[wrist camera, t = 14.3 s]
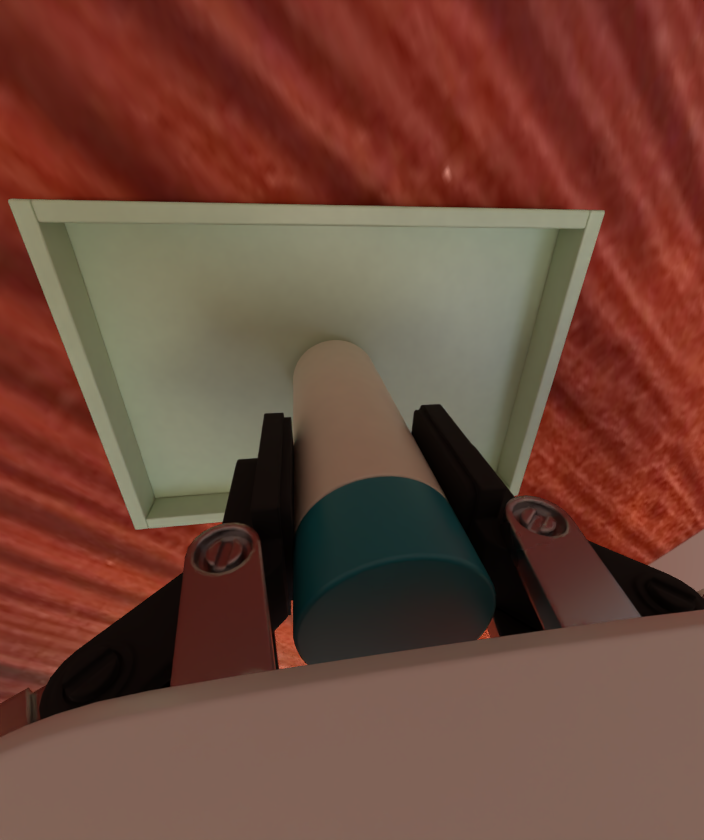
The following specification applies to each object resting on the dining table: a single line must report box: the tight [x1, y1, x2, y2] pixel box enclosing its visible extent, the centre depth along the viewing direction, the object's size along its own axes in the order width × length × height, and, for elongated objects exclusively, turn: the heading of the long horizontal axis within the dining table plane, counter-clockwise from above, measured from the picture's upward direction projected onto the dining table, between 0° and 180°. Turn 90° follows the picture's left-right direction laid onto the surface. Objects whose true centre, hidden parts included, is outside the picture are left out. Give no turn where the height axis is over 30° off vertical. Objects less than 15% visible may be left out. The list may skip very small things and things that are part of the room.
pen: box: [293, 340, 496, 665], centre depth 11 cm, size 4×4×11 cm
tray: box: [8, 199, 605, 529], centre depth 16 cm, size 19×13×2 cm
